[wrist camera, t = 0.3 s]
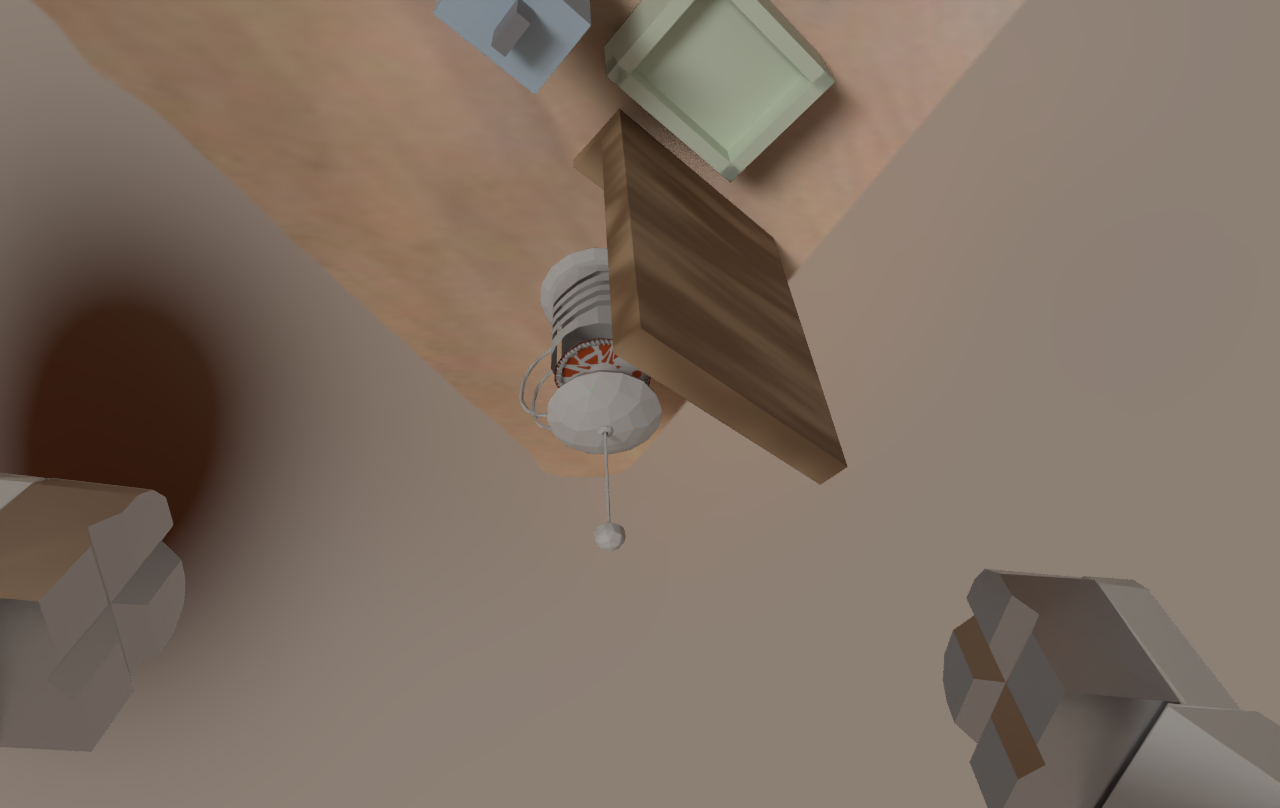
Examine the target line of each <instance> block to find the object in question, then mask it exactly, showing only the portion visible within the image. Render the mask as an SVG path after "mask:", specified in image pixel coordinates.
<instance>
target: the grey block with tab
mask: <svg viewBox="0 0 1280 808" xmlns="http://www.w3.org/2000/svg"><path fill="white" fill-rule="evenodd" d="M433 14H434V15H435V16H437V17H438V18H439V19H440V20H442V21H443V22H444V23H445V24H447V25H448V26H449V27H450V28H452V29H453V30H454V31H455V32H457V33H458V34H459V35H460V36H462V37H463V38H464V39H466V40H467V41H468V42H469V43H471V44H472V45H473V46H474V47H476V48H477V49H478V50H479V51H481V52H482V53H483V54H484V55H486V56H487V57H488V58H489V59H491V60H492V61H493V62H494V63H496V64H497V65H498V66H499V67H501V68H502V69H503V70H504V71H506V72H507V73H508V74H510V75H511V76H512V77H513V78H515V79H516V80H517V81H518V82H520V83H521V84H522V85H523V86H525V87H526V88H527V89H528V90H530V91H531V92H532V93H533V94H536V93H537V92H538V90H539V89H540V88H541V87H542V85H543V84H544V83H545V82H546V80H547V79H548V78H549V77H550V75H551V74H552V73H553V72H554V71H555V69H556V68H557V67H558V66H559V64H560V63H561V62H562V61H563V59H564V58H565V57H566V56H567V54H568V53H569V52H570V51H571V50H572V48H573V47H574V46H575V45H576V43H577V42H578V41H579V40H580V38H581V37H582V36H583V35H584V34H585V32H586V31H587V30H588V29H589V27H590V26H591V13H590V0H438V2H437V4H436V7H435V10H434V13H433Z"/></svg>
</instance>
